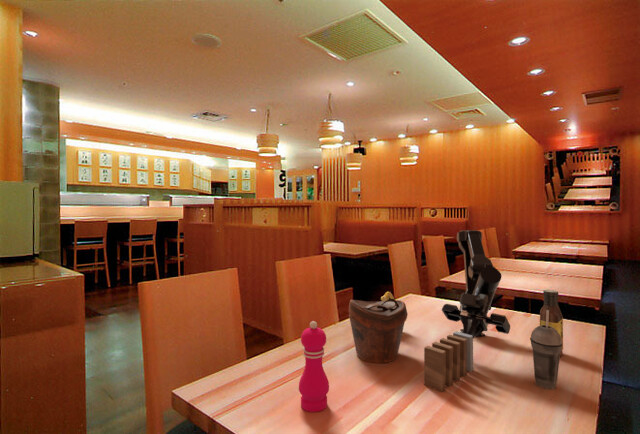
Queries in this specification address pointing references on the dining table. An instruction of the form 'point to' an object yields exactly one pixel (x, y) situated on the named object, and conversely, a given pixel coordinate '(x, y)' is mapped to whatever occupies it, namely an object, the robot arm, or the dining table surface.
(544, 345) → the beverage cup
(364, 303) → the brown wooden tapered container
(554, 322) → the sauce bottle
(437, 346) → the domino
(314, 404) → the pepper mill
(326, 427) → the dining table surface
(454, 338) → the domino
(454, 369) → the domino
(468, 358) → the domino
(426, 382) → the domino
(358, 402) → the dining table surface
